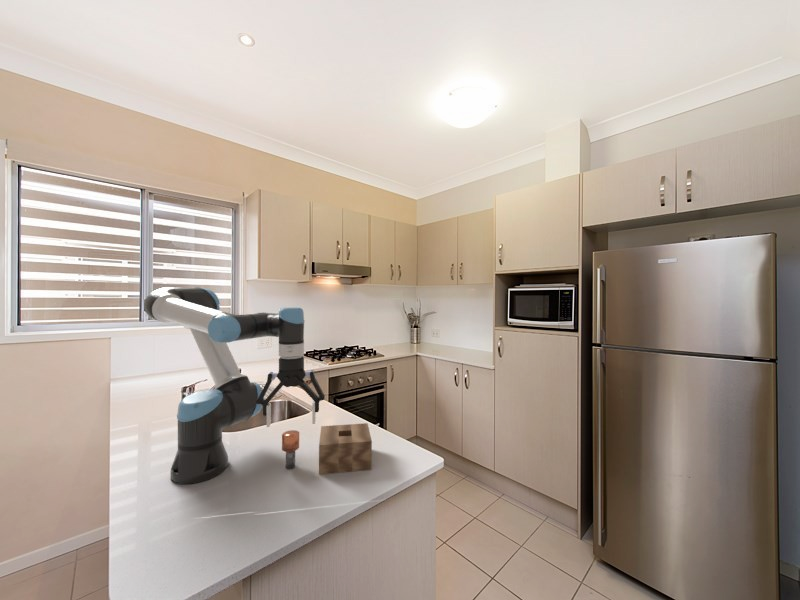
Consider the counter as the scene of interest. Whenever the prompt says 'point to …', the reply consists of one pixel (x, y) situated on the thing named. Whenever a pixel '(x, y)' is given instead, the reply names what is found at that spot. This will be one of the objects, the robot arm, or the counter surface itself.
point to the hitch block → (345, 448)
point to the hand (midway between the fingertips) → (291, 423)
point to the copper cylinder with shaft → (290, 446)
